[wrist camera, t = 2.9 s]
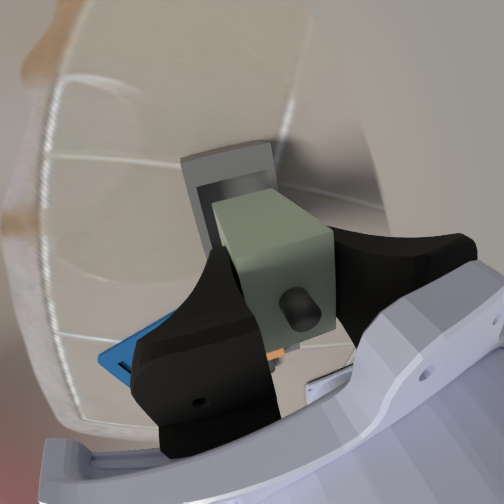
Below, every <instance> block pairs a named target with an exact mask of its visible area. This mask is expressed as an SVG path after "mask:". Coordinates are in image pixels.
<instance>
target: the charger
mask: <svg viewBox="0 0 504 504" xmlns="http://www.w3.org/2000/svg"><path fill="white" fill-rule="evenodd" d="M212 207H213V211H214V215H215V219H216V223H217V227H218V231H219V235H220V239H221V243H222V246H226V248H227V250H228V252H229V256H230V260H231V264H232V268H233V272H234V275H235V279H236V283H237V287H238V289H239V291H240V293H241V295H242V297H243V299H244V301H245V303H246V304H247V306H248V308H249V309H250V311H251V312H252V313H253V315H254V316H255V319H256V321H257V324H258V326H259V328H260V331H261V334H262V339H263V343H264V347H265V351H266V354H267V353H270V352H273V351H276V350H279V349H282V348H285V347H288V346H291V345H294V344H297V343H299V342H302V341H305V340H308V339H311V338H313V337H316V336H319V335H321V334H324V333H326V332H329V331H332V330H334V329H336V280H335V252H334V234H333V230H331V229H330V228H329V227H327V226H326V225H325V224H323V223H322V222H320V221H319V220H318V219H316V218H315V217H313V216H312V215H311V214H309V213H308V212H306V211H305V210H303V209H302V208H301V207H299V206H298V205H296V204H295V203H293V202H292V201H290V200H289V199H288V198H286V197H285V196H283V195H282V194H280V193H279V192H277V191H276V190H274V189H273V188H271V189H266V190H262V191H258V192H254V193H250V194H246V195H242V196H238V197H234V198H230V199H226V200H222V201H218V202H214V203H212Z"/></svg>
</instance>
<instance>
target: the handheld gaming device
mask: <svg viewBox="0 0 504 504" xmlns="http://www.w3.org/2000/svg"><path fill="white" fill-rule="evenodd" d="M176 310H177V309H176ZM176 310H175V311H176ZM175 311H173V312H171V313H169V314H168V315H166V316H164V317H163V318H161V319H159V320H158V321H156V322H154V323H152V324H151V325H149V326H147V327H146V328H144V329H142V330H140V331H139V332H137V333H135V334H134V335H132V336H130V337H128V338H127V339H125V340H123V341H122V342H120V343H118V344H116V345H115V346H113V347H111V348H110V349H108V350H106V351H104V352H103V353H101V354H99V356H98V363H99V364H100V365H101V366H102V367H104V368H105V369H106V370H107V371H109V372H110V373H111V374H112V375H114V376H115V377H116V378H117V379H119V380H120V381H121V382H123V383H124V384H125V385H127V386H128V387H129V388H130V377H131V367H132V359H133V353H134V350H135V346H136V341H137V340H138V339H140V338H141V337H143V336H144V335H146V334H147V333H149V332H150V331H152V330H153V329H155V328H156V327H158V326H159V325H160V324H161V323H163V322H164V321H165V320H166V319H167V318H169V317H170V316H171V315H172V314H173V313H174V312H175Z"/></svg>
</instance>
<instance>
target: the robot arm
mask: <svg viewBox="0 0 504 504" xmlns="http://www.w3.org/2000/svg"><path fill="white" fill-rule="evenodd" d="M327 227H329V228H330V229H331V230H333V234H334V252H335V280H336V317H337V318H338V319H339V321H340V322H341V324H342V325H343V327H344V328H345V330H346V332H347V333H348V335H349V337H350V338H351V340H352V342H353V344H354V345H355V347H356V349H357V350H356V353H355V356H354V363H353V365H351V366H349V367H347V368H345V369H342V370H340V371H338V372H335V373H333V374H331V375H328V376H326V377H323V378H321V379H318V380H316V381H313V382H311V383H308V384H307V385H306V386H305V390H306V403H307V405H306V406H305V407H303V408H301V409H299V410H297V411H295V412H294V413H292V414H290V415H288V416H286V417H284V418H282V419H281V415H280V411H279V407H278V403H277V397H276V393H275V388H274V384H273V380H272V376H271V372H270V368H269V364H268V359H267V355H266V351H265V347H264V343H263V339H262V334H261V331H260V328H259V326H258V324H257V321H256V319H255V316H254V315H253V313H252V312H251V311H250V309H249V308H248V306H247V304H246V303H245V301H244V299H243V297H242V295H241V293H240V291H239V289H238V287H237V283H236V279H235V275H234V272H233V268H232V264H231V260H230V256H229V252H228V250H227V248H226V246H221V247H218V248H214V249H211V251H210V252H209V256H208V260H207V263H206V265H205V268H204V270H203V273H202V275H201V277H200V279H199V281H198V283H197V285H196V286H195V288H194V290H193V291H192V293H191V294H190V295H189V297H188V298H187V299H186V300H185V301H184V302H183V304H182V305H181V306H180V307H179V308H178V309H177V310H176V311H175V312H174V313H173V314H172V315H171V316H170V317H169V318H167V319H166V320H165V321H164V322H163V323H161V324H160V325H159V326H158V327H156V328H155V329H153V330H152V331H150V332H149V333H147V334H146V335H144V336H143V337H141V338H140V339H138V340H137V341H136V346H135V350H134V353H133V359H132V367H131V377H130V389H131V394H132V396H133V398H134V399H135V401H136V402H137V403H138V405H139V406H140V407H141V408H142V409H143V410H144V411H145V412H146V414H147V415H148V416H149V417H150V418H151V419H152V420H153V421H154V422H155V423H156V424H157V425H158V426H159V442H160V448H152V449H141V450H128V451H108V452H107V451H105V452H91V451H90V450H89V449H88V448H87V447H86V446H85V445H83V444H82V443H80V442H78V441H75V440H73V439H57V438H47V439H46V441H45V446H44V452H43V459H42V466H41V474H40V484H39V496H38V502H39V503H40V504H504V276H503V275H501V274H500V273H499V272H497V271H496V270H494V269H493V268H491V267H490V266H488V265H486V264H485V263H483V262H482V261H480V260H477V247H476V244H475V242H474V241H473V240H472V239H471V238H469V237H467V236H465V235H464V234H460V233H456V234H449V235H442V236H434V237H420V238H401V237H400V238H399V237H384V236H375V235H368V234H362V233H357V232H352V231H347V230H343V229H338V228H334V227H330V226H327Z"/></svg>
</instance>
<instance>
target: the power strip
mask: <svg viewBox="0 0 504 504" xmlns="http://www.w3.org/2000/svg"><path fill="white" fill-rule="evenodd" d="M180 164H181V167H182V171H183V175H184V179H185V183H186V187H187V191H188V195H189V198H190V202H191V206H192V209H193V213H194V217H195V220H196V224H197V227H198V231H199V234H200V238H201V241H202V245H203V248H204V252H205V255H206V258H207V260H208V256H209V252H210V251H211V249H214V248H218V247H221V246H222V243H221V239H220V235H219V231H218V227H217V223H216V219H215V215H214V211H213V207H212V203H214V202H218V201H222V200H226V199H230V198H234V197H238V196H242V195H246V194H250V193H254V192H258V191H262V190H266V189H271V188H273V189H274V190H276V191H277V192H279V189H278V183H277V177H276V171H275V165H274V159H273V154H272V148H271V143H270V142H264V141H257V140H256V141H251V142H246V143H241V144H237V145H232V146H228V147H223V148H219V149H215V150H211V151H206V152H202V153H199V154H195V155H191V156H187V157H184V158H181V163H180ZM299 348H300V344H299V343H297V344H294V345H291V346H288V347H285V348H282V349H279V350H276V351H273V352H270V353H267V354H266V355H267V359H268V364H269V368H270V372H271V373H273V372H274V371H275V364H274V360H273V359H275V358H278V357H281V356H284V354H285V353H288V352H291V351H293V350H296V349H299Z"/></svg>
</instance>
